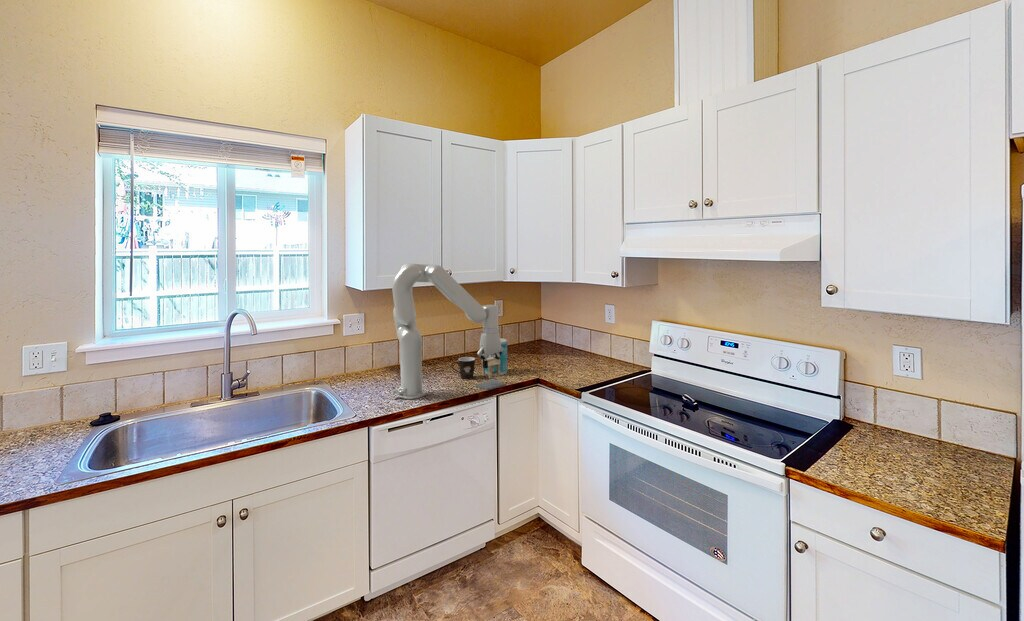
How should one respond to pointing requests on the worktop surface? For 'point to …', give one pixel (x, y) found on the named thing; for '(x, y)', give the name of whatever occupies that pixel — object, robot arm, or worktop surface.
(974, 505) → the worktop surface
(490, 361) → the wooden u-shaped block
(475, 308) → the robot arm
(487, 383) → the mat
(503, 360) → the food can
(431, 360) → the worktop surface
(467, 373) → the coffee mug
